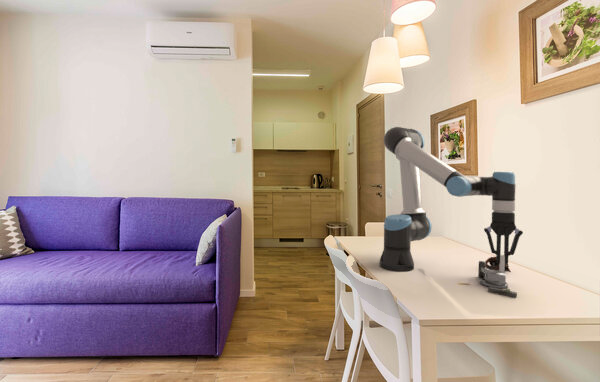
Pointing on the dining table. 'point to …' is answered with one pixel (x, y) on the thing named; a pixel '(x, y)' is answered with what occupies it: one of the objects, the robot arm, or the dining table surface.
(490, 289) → the stand board
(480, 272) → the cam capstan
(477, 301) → the dining table surface
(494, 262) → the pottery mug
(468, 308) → the dining table surface
